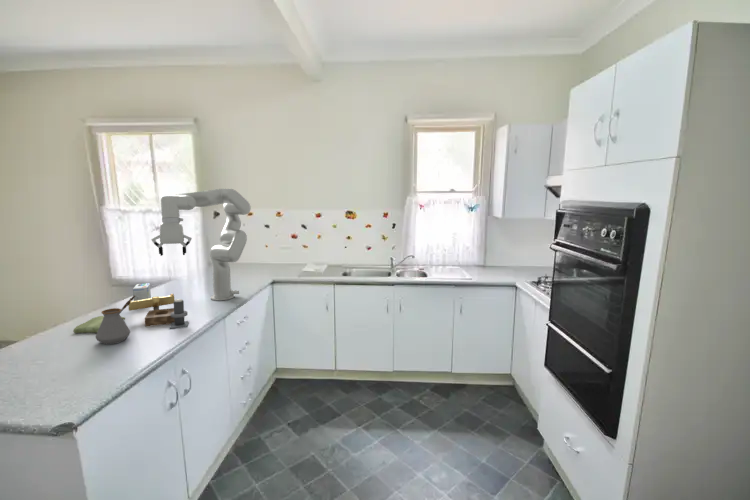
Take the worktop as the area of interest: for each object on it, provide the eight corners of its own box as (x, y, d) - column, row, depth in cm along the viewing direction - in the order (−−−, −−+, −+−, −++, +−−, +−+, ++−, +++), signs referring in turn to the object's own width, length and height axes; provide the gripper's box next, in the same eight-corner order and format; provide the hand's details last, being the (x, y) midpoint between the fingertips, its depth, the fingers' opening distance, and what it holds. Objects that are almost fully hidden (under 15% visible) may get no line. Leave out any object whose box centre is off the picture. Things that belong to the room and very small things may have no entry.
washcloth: (127, 320, 168) (126, 313, 167) (103, 334, 151) (102, 327, 150) (97, 320, 166) (97, 314, 166) (70, 334, 149) (69, 327, 149)
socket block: (178, 314, 177) (177, 303, 176) (175, 323, 164) (174, 312, 163) (150, 316, 172) (149, 306, 171) (145, 326, 159) (144, 315, 159)
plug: (188, 320, 166) (187, 297, 165) (187, 325, 160) (186, 301, 159) (172, 322, 164) (170, 298, 162) (170, 327, 158) (169, 302, 156)
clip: (175, 303, 176) (174, 294, 175) (129, 311, 163) (128, 301, 162) (173, 302, 178) (172, 293, 177) (128, 309, 165) (127, 299, 164)
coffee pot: (118, 346, 138) (115, 310, 136) (88, 346, 138) (85, 309, 135) (150, 326, 159) (148, 295, 157) (124, 326, 159) (122, 294, 156)
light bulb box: (137, 302, 194) (136, 283, 192) (151, 301, 197) (150, 282, 195) (133, 308, 184) (132, 288, 183) (148, 306, 187) (147, 287, 186)
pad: (188, 322, 167) (188, 320, 166) (187, 327, 160) (187, 325, 160) (171, 323, 164) (171, 322, 164) (169, 328, 157) (169, 327, 157)
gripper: (191, 220, 178) (192, 253, 181) (151, 220, 171) (153, 254, 174) (190, 221, 172) (192, 255, 174) (149, 221, 164) (151, 257, 167)
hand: (173, 254), depth 174 cm, fingers open, 9 cm apart
